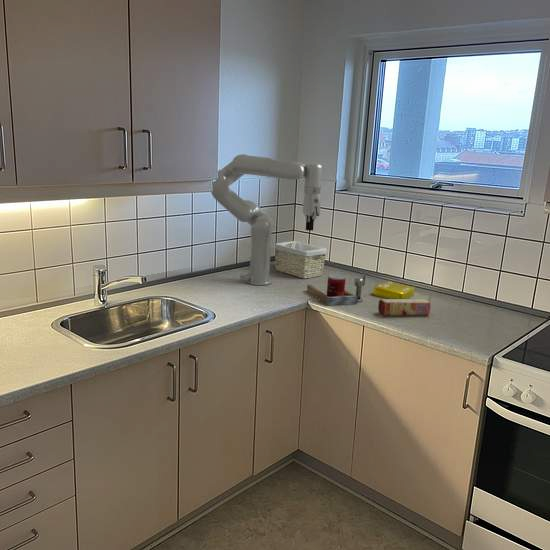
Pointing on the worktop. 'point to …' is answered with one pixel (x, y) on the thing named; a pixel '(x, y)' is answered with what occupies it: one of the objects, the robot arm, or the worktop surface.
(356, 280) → the grey metal upright piece
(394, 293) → the element tile
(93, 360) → the worktop surface
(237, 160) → the robot arm
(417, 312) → the snack package
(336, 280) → the canned food
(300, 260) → the storage basket
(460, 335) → the worktop surface
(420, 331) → the worktop surface
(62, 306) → the worktop surface
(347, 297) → the bay
